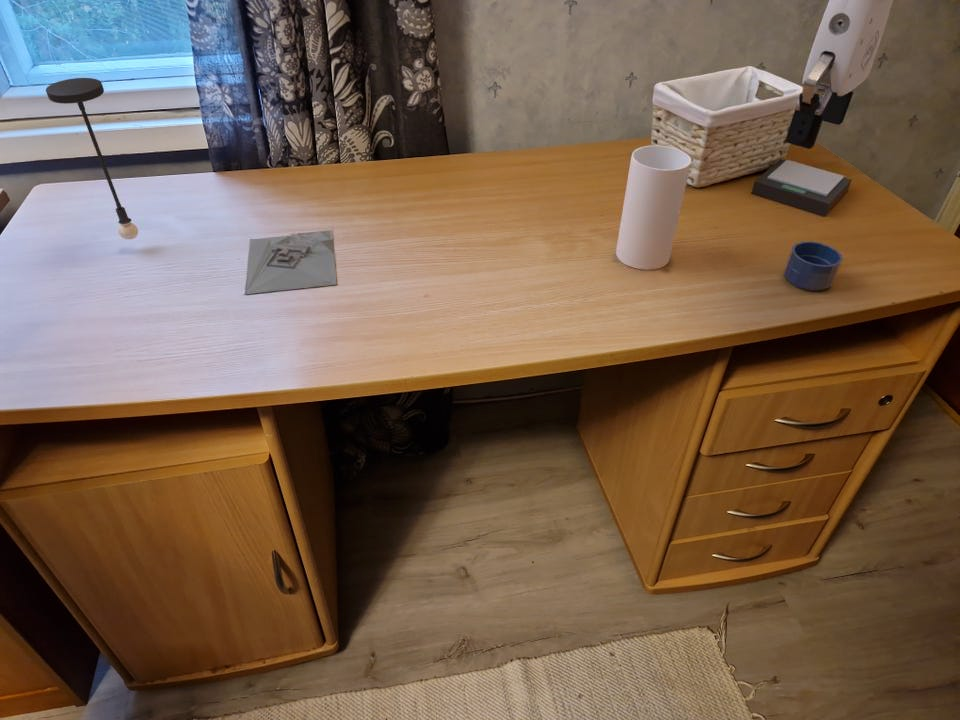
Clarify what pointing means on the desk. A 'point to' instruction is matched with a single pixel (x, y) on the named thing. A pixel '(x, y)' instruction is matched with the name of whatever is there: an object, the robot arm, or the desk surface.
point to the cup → (652, 206)
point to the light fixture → (91, 132)
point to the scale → (802, 186)
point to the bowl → (812, 265)
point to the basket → (725, 122)
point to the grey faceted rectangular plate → (290, 262)
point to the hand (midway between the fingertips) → (814, 132)
